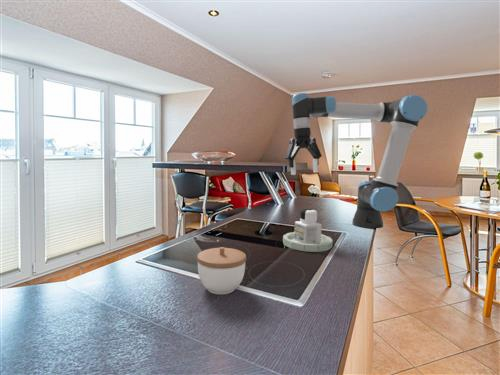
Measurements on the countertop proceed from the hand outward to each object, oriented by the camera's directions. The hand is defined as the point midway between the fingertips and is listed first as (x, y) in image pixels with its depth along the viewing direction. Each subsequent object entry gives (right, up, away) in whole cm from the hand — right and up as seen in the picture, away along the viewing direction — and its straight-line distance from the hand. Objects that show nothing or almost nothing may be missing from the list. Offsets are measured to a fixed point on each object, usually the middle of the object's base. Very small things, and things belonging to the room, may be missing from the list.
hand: (304, 173), depth 144 cm
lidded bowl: (-33, -33, -63) cm, 79 cm away
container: (-3, -28, -21) cm, 35 cm away
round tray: (-3, -29, -21) cm, 36 cm away
